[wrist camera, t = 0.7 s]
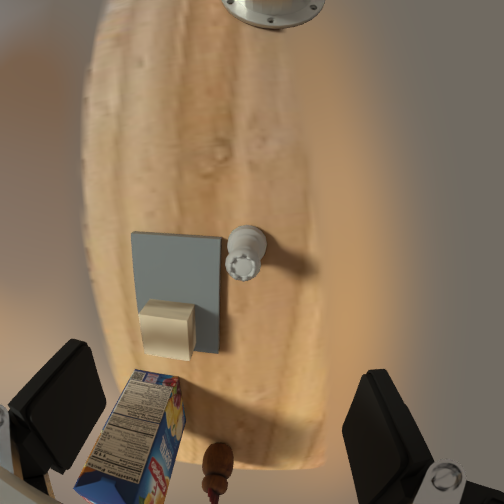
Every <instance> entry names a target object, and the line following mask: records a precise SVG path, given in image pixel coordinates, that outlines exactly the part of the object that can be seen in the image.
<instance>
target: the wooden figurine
mask: <svg viewBox="0 0 504 504" xmlns="http://www.w3.org/2000/svg"><path fill="white" fill-rule="evenodd" d="M233 463H234V461H233V452H232V449H231V448H230V447H229V446H228V445H226V444H223V443H214V444H211V445H210V446H209V447H208V448H207V450H206V452H205V454H204V457H203V464H202V468H203V473H204V474H205V477H204V478H203V481H202V488H203V490H204V492H206V493H208V497H210V502H211V504H218V501H219V495H222V494H224V493H225V492H226V490H227V487H228V482H227V479H228V478H229V477H230V476H231V473H232V470H233Z"/></svg>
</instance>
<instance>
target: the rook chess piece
mask: <svg viewBox="0 0 504 504" xmlns="http://www.w3.org/2000/svg"><path fill="white" fill-rule="evenodd" d="M266 246H267V242H266V237H265V236H264V234H263V233H262V231H261V230H259V229H258V228H256V227H255V226H250V225H244V226H239V227H238V228H236V229H234V230H233V231H232V233H231V234H230V236H229V238H228V244H227V248H228V252H229V255H228V256H227V258H226V262H225V266H226V270H227V272H228V273H229V274H230V276H231V277H232V278H234V279H236V280H241V281H242V282H243V281H248V280H251V279H252V278H254V277H256V275H257V274H258V273H259V271H260V267H261V262H260V260H261V258H262V257H263V256H264V254H265V251H266Z"/></svg>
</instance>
